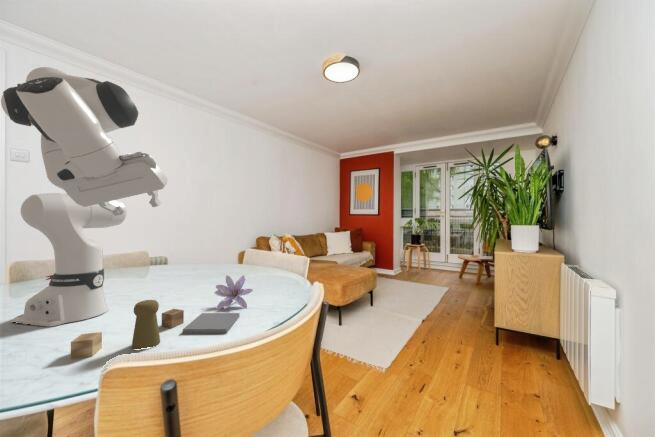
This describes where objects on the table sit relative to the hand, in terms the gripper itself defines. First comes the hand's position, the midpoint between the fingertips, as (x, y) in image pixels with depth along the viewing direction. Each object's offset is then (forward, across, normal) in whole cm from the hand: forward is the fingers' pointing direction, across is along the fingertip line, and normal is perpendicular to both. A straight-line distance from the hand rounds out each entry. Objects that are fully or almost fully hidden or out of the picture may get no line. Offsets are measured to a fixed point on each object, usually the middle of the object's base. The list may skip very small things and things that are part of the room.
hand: (138, 209), depth 65 cm
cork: (+26, +6, +21) cm, 34 cm away
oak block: (+22, +17, +23) cm, 36 cm away
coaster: (+36, -6, +14) cm, 39 cm away
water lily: (+46, -6, +1) cm, 46 cm away
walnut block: (+34, +6, +12) cm, 36 cm away
